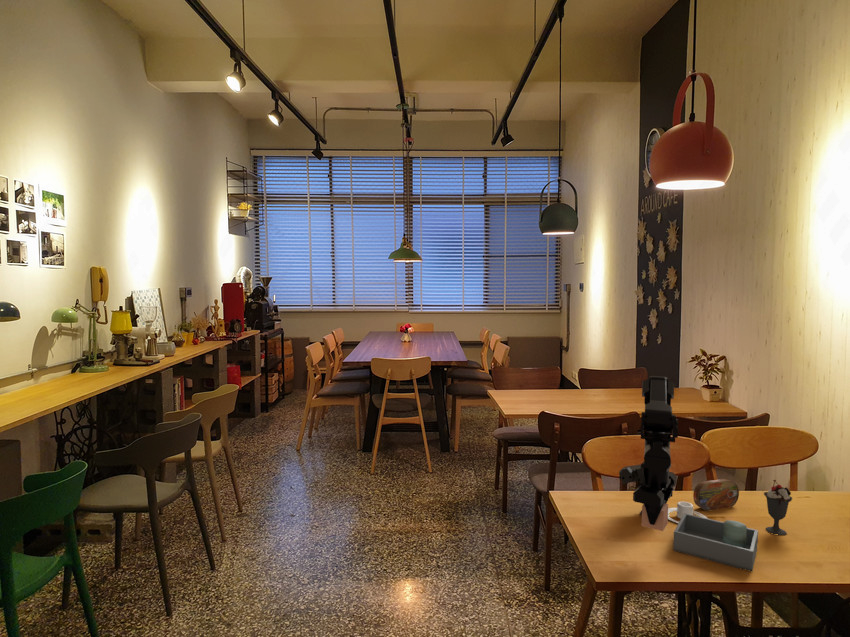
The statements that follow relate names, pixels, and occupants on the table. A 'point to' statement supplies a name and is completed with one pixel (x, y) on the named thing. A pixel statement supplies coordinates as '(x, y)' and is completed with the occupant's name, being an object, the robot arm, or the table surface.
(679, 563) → the table surface
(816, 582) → the table surface
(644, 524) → the cube
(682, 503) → the candle holder
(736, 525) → the cylinder
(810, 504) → the table surface
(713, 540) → the tote
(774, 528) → the sundae
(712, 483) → the tin
